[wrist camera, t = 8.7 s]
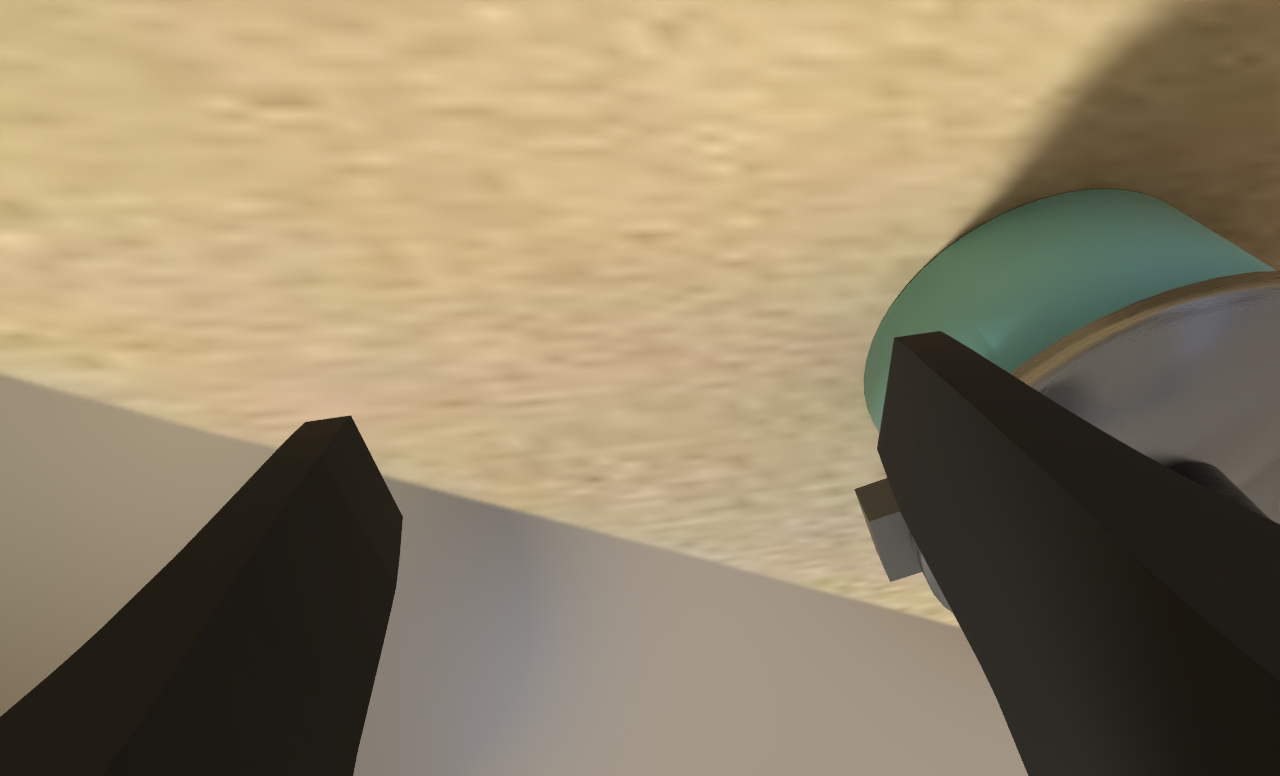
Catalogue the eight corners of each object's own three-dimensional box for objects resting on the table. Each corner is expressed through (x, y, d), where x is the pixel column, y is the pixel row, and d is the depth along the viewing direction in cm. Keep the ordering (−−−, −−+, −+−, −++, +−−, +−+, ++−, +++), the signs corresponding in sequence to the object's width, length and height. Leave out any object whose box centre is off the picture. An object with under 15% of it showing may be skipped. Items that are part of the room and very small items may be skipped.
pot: (1291, 95, 18) (1543, 186, 13) (1238, 383, 25) (1395, 511, 20) (779, 304, 21) (841, 440, 16) (856, 513, 27) (916, 652, 23)
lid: (1075, 231, 13) (1233, 355, 10) (1529, 308, 15) (1771, 427, 12) (840, 598, 20) (890, 735, 17) (1172, 612, 23) (1269, 736, 20)
